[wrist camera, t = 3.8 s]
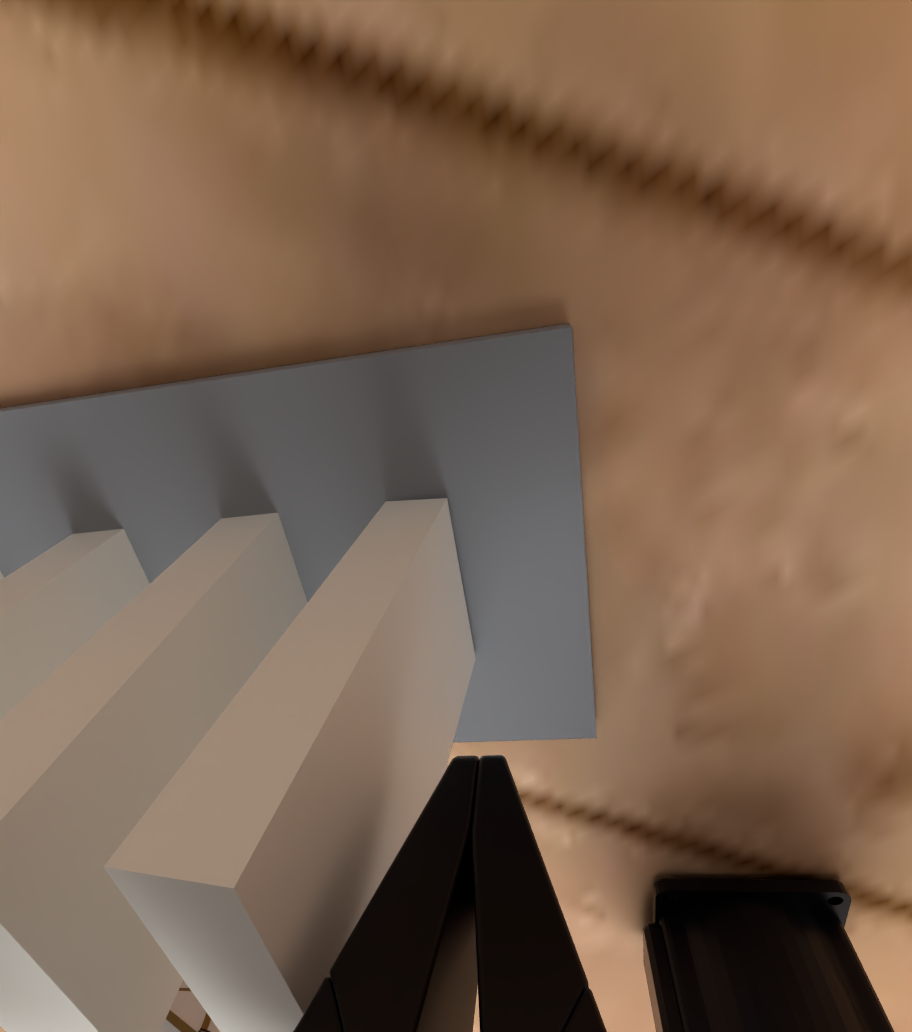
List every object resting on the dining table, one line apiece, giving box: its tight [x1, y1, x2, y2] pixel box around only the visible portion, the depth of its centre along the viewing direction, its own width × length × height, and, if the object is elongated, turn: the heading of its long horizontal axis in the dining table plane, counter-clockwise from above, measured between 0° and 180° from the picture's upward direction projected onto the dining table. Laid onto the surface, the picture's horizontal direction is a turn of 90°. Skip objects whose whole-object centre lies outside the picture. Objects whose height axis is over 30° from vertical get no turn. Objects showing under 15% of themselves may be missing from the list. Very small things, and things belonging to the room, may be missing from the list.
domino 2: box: [0, 513, 308, 1032], centre depth 11 cm, size 2×5×9 cm, turn 9°
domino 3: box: [104, 498, 476, 1032], centre depth 10 cm, size 2×5×9 cm, turn 9°
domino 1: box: [0, 529, 150, 721], centre depth 12 cm, size 2×5×9 cm, turn 9°
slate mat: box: [0, 323, 596, 742], centre depth 16 cm, size 26×12×1 cm, turn 99°
